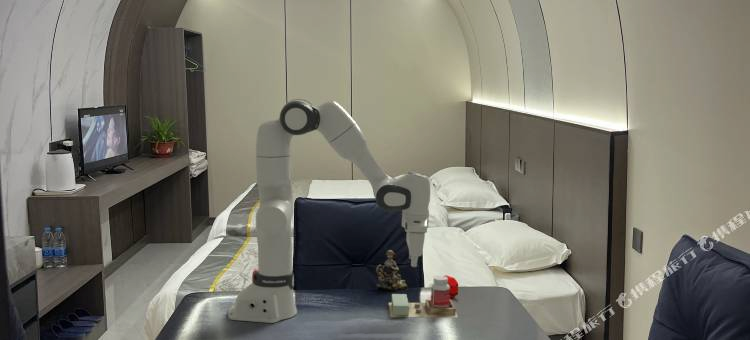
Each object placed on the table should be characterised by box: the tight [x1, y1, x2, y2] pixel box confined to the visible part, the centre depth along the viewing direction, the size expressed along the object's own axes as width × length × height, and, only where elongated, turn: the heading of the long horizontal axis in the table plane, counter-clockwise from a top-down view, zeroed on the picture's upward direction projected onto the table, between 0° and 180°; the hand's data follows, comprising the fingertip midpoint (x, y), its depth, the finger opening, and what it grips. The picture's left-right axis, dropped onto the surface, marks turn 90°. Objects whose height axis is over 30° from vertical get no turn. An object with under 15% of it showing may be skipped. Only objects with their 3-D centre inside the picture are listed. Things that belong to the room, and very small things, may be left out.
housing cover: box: [391, 293, 409, 315], centre depth 225 cm, size 5×12×3 cm, turn 1°
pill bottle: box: [430, 275, 450, 308], centre depth 225 cm, size 6×6×11 cm
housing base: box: [388, 299, 459, 318], centre depth 226 cm, size 22×14×3 cm, turn 91°
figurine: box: [375, 249, 409, 292], centre depth 249 cm, size 12×11×15 cm
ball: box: [443, 275, 459, 299], centre depth 242 cm, size 8×8×8 cm
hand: (412, 262), depth 223 cm, fingers open, 8 cm apart
